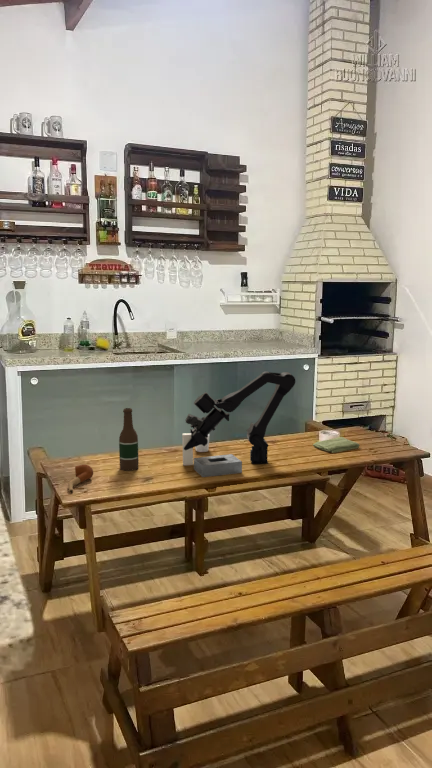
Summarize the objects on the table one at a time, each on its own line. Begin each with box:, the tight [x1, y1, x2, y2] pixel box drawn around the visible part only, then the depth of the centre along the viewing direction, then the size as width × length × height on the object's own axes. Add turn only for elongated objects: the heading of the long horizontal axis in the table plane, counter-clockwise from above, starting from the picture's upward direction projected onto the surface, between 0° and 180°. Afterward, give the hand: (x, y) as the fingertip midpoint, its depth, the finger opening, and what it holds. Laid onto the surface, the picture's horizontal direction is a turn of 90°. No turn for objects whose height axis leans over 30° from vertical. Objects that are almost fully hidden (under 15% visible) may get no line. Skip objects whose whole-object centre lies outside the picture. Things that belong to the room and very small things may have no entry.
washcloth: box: [312, 436, 360, 454], centre depth 285 cm, size 13×18×3 cm
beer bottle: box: [118, 407, 140, 472], centre depth 254 cm, size 8×8×24 cm
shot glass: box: [194, 433, 211, 453], centre depth 281 cm, size 7×7×7 cm
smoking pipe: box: [67, 464, 94, 494], centre depth 236 cm, size 7×18×6 cm, turn 0°
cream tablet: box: [181, 432, 194, 466], centre depth 260 cm, size 4×2×12 cm, turn 95°
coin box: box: [193, 453, 243, 478], centre depth 252 cm, size 16×11×4 cm
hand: (184, 448), depth 260 cm, fingers closed on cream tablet, 2 cm apart
